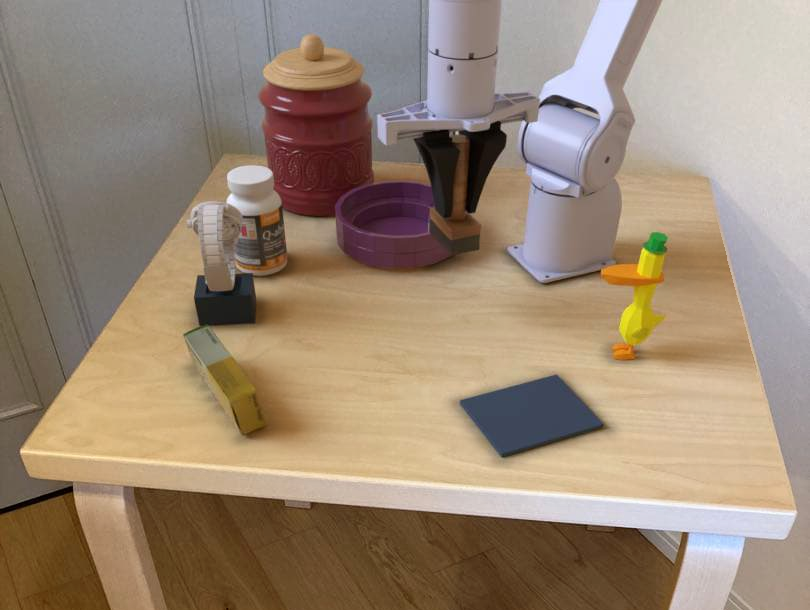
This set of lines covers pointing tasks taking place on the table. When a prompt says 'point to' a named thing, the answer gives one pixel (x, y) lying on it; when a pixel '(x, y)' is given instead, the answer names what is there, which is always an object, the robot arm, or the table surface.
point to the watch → (221, 267)
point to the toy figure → (638, 294)
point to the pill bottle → (258, 221)
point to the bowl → (388, 225)
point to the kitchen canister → (316, 126)
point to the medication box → (225, 379)
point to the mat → (530, 415)
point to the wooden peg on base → (457, 210)
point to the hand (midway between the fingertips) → (455, 211)
